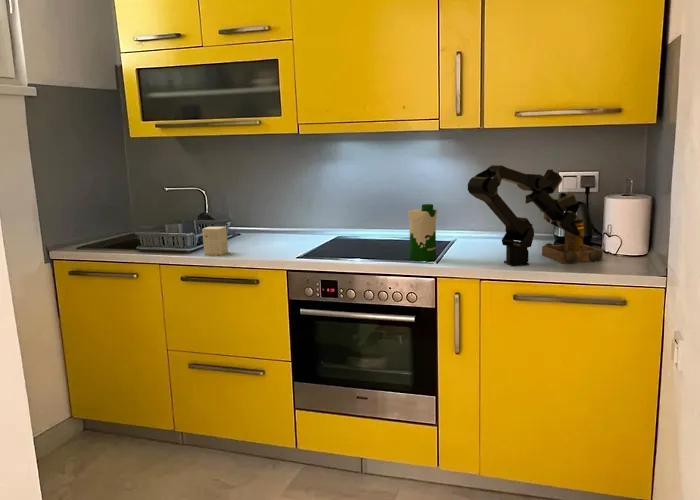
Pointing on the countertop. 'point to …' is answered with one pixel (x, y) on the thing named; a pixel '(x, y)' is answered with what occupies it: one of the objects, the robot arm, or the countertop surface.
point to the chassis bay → (571, 253)
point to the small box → (215, 240)
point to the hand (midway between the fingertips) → (575, 233)
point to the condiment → (574, 238)
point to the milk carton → (423, 233)
